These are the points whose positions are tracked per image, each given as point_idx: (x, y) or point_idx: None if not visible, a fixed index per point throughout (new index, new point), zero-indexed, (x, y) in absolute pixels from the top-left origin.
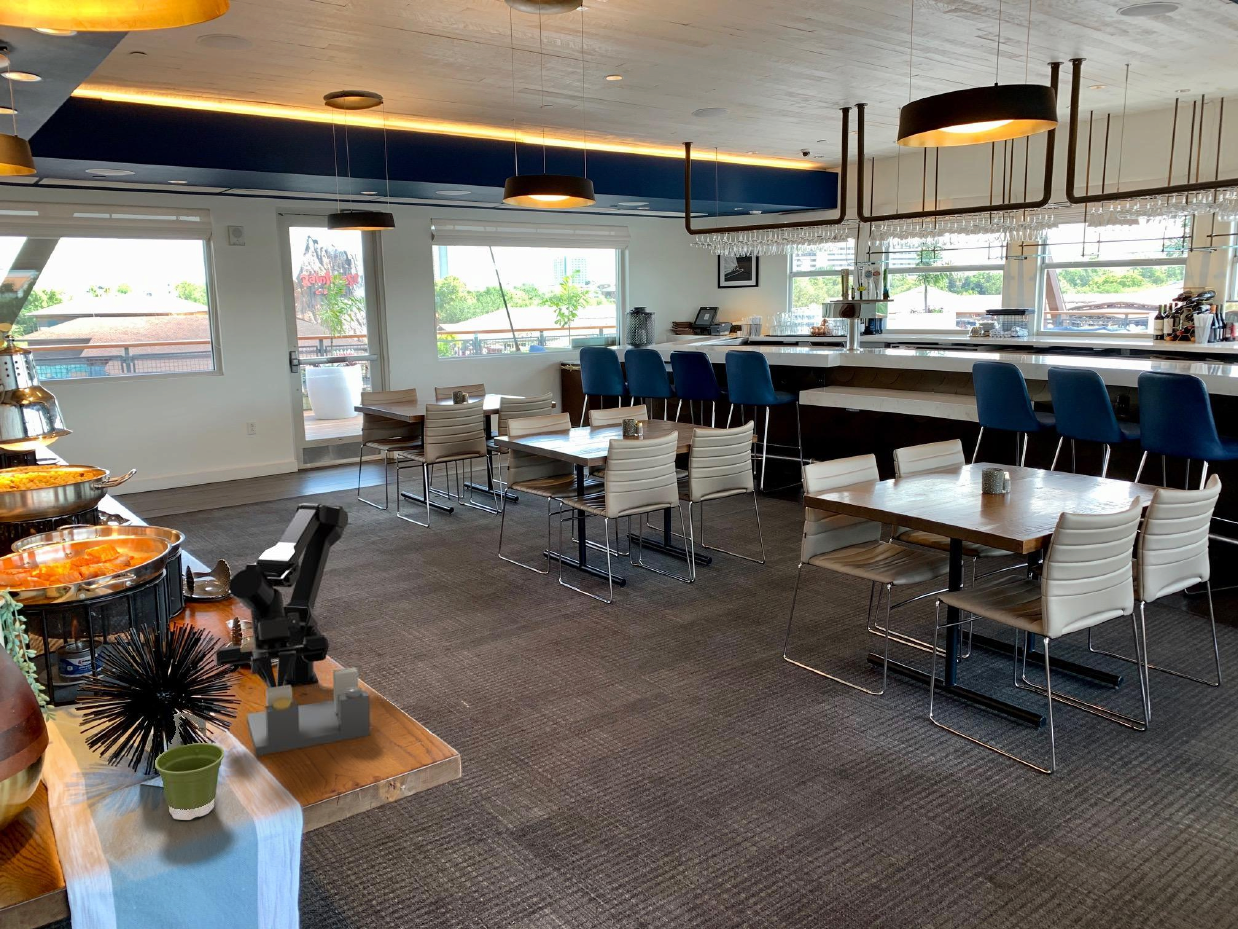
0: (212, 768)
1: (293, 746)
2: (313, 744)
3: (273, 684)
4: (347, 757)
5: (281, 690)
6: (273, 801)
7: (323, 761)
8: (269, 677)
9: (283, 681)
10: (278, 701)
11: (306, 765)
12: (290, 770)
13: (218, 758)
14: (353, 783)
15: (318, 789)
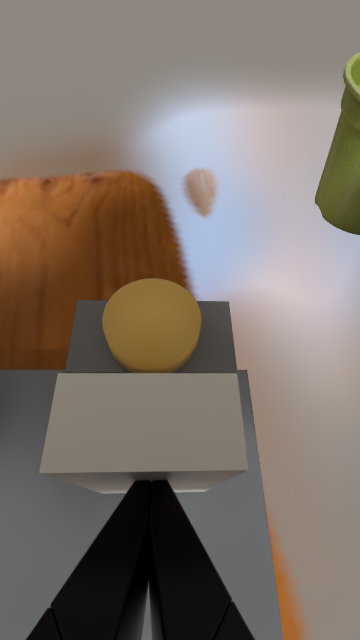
0: (357, 71)
1: None
2: None
3: (179, 553)
4: (9, 280)
5: (136, 375)
6: (208, 188)
7: (72, 284)
8: (225, 629)
9: (75, 571)
10: (170, 319)
11: (117, 281)
12: (159, 274)
13: (354, 121)
14: (51, 187)
15: (121, 192)
